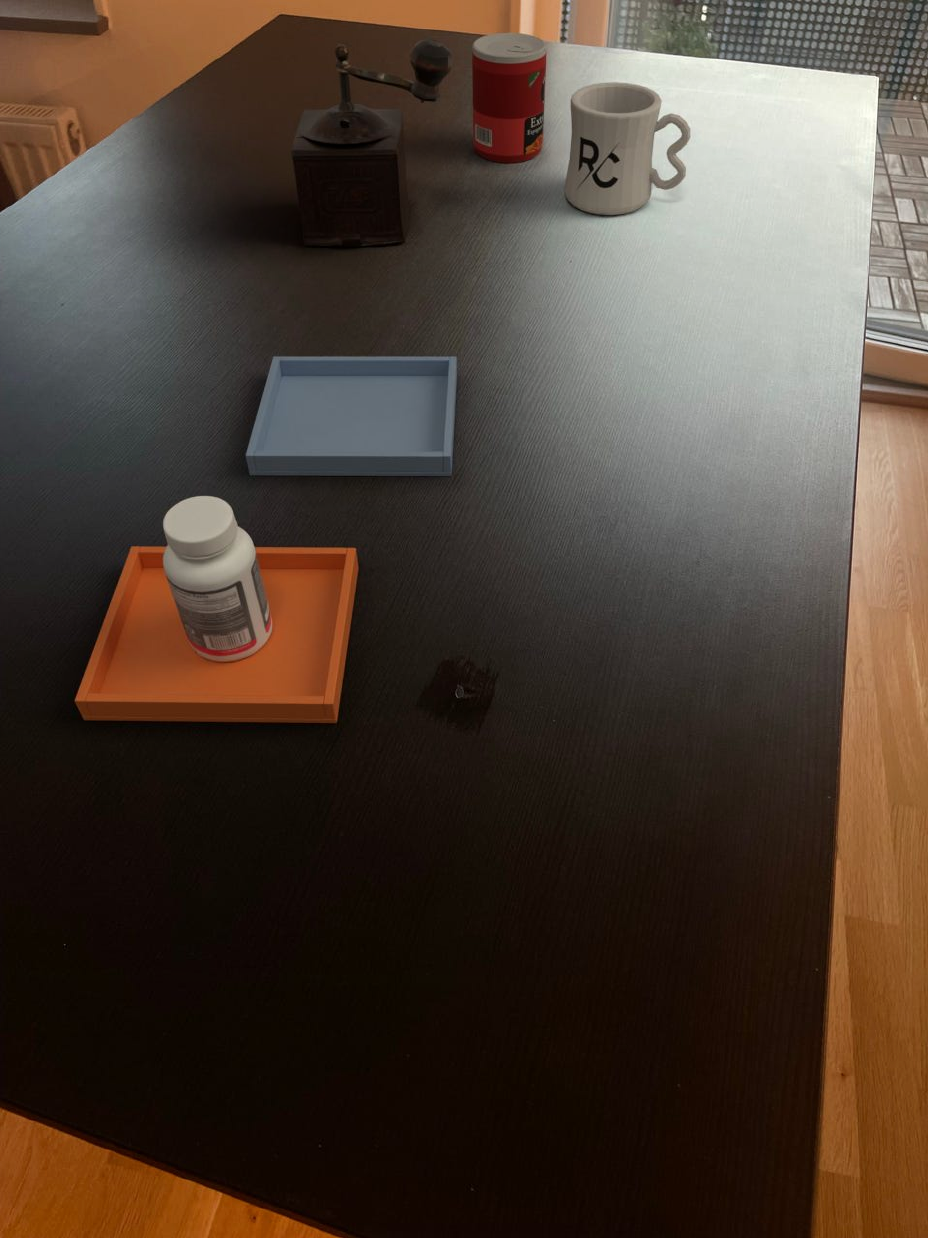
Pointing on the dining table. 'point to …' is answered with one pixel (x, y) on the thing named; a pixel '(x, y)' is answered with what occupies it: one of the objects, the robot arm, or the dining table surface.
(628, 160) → the mug
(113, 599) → the orange tray
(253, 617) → the pill bottle
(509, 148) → the canned food
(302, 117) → the manual coffee grinder
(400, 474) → the blue tray
